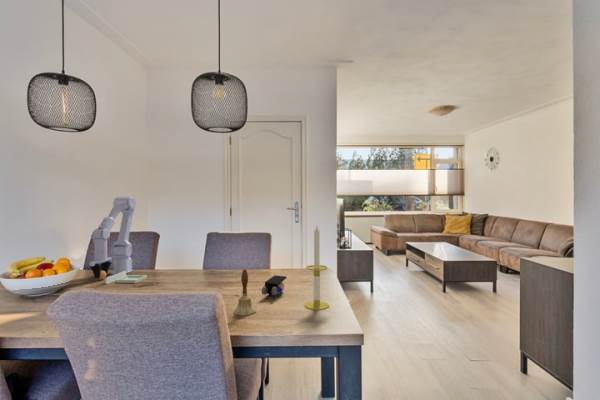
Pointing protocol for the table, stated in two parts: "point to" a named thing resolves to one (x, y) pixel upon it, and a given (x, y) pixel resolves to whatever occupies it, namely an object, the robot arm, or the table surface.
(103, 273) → the ball
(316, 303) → the candle
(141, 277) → the tray
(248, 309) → the hand bell
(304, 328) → the table surface
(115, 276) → the wall
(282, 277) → the figurine character
